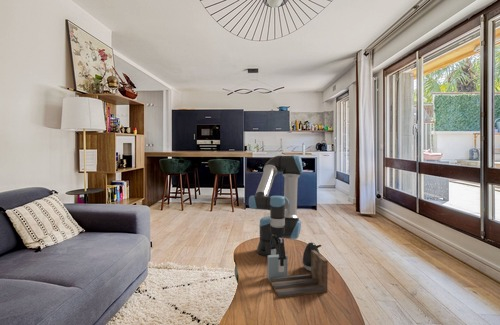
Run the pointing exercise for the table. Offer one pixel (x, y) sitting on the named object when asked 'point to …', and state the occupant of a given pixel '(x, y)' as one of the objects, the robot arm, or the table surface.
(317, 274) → the track sill
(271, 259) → the pale grey rectangular block
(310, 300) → the table surface
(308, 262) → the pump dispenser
